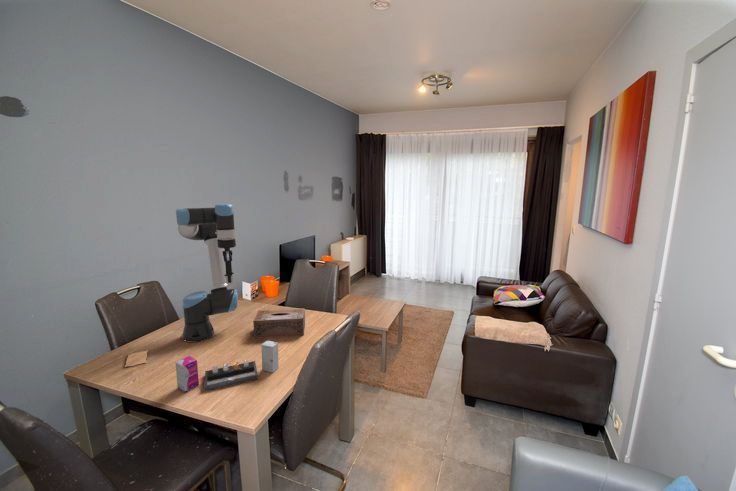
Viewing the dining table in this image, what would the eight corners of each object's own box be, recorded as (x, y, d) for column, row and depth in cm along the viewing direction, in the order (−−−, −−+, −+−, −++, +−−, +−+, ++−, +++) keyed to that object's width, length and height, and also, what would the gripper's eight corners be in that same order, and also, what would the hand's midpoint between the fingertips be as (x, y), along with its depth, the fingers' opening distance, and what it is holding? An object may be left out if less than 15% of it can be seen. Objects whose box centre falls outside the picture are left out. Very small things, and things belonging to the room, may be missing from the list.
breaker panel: (204, 391, 127) (203, 378, 126) (205, 375, 138) (204, 363, 137) (258, 379, 135) (257, 367, 134) (255, 365, 146) (254, 353, 145)
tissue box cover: (254, 338, 172) (253, 320, 170) (259, 327, 186) (258, 310, 184) (303, 335, 176) (303, 318, 174) (305, 324, 190) (304, 308, 188)
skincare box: (261, 370, 142) (260, 344, 140) (268, 365, 146) (266, 340, 144) (273, 373, 140) (272, 347, 138) (279, 367, 144) (278, 342, 142)
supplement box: (185, 393, 126) (182, 366, 124) (177, 388, 129) (174, 361, 127) (199, 385, 131) (197, 359, 129) (191, 380, 134) (188, 355, 132)
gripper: (217, 237, 151) (221, 285, 155) (217, 241, 139) (221, 294, 143) (234, 236, 154) (238, 283, 158) (235, 240, 142) (239, 291, 146)
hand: (230, 288), depth 151 cm, fingers closed
